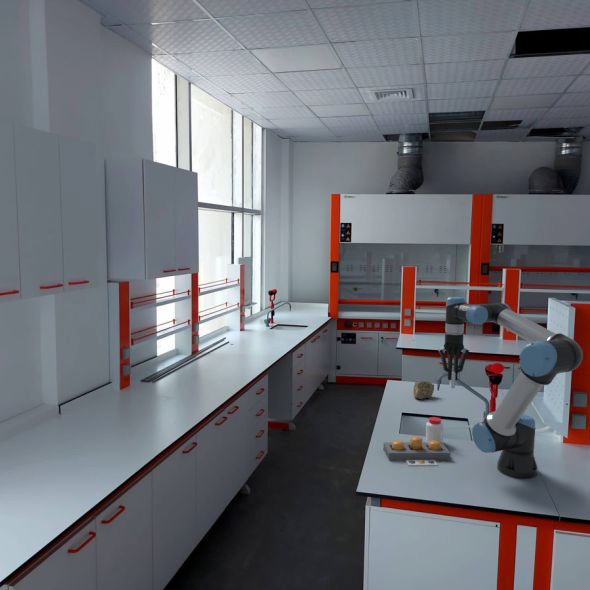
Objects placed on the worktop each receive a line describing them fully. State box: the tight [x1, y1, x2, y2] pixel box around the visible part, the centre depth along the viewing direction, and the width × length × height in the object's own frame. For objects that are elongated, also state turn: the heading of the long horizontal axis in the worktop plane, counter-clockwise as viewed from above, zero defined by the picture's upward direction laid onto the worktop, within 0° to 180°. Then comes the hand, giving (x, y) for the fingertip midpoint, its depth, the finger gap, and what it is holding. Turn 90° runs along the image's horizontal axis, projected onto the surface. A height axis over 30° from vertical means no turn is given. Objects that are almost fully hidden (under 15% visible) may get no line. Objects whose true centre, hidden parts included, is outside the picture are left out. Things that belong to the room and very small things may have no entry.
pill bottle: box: [425, 416, 445, 444], centre depth 254 cm, size 8×8×11 cm
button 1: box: [392, 440, 404, 450], centre depth 240 cm, size 5×5×4 cm
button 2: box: [428, 441, 441, 450], centre depth 241 cm, size 5×5×4 cm
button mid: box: [409, 436, 423, 450], centre depth 240 cm, size 5×5×4 cm
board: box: [383, 441, 451, 461], centre depth 240 cm, size 26×12×3 cm, turn 92°
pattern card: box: [405, 460, 438, 467], centre depth 231 cm, size 12×5×1 cm, turn 92°
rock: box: [412, 380, 435, 400], centre depth 325 cm, size 11×12×10 cm
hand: (452, 387), depth 239 cm, fingers closed
